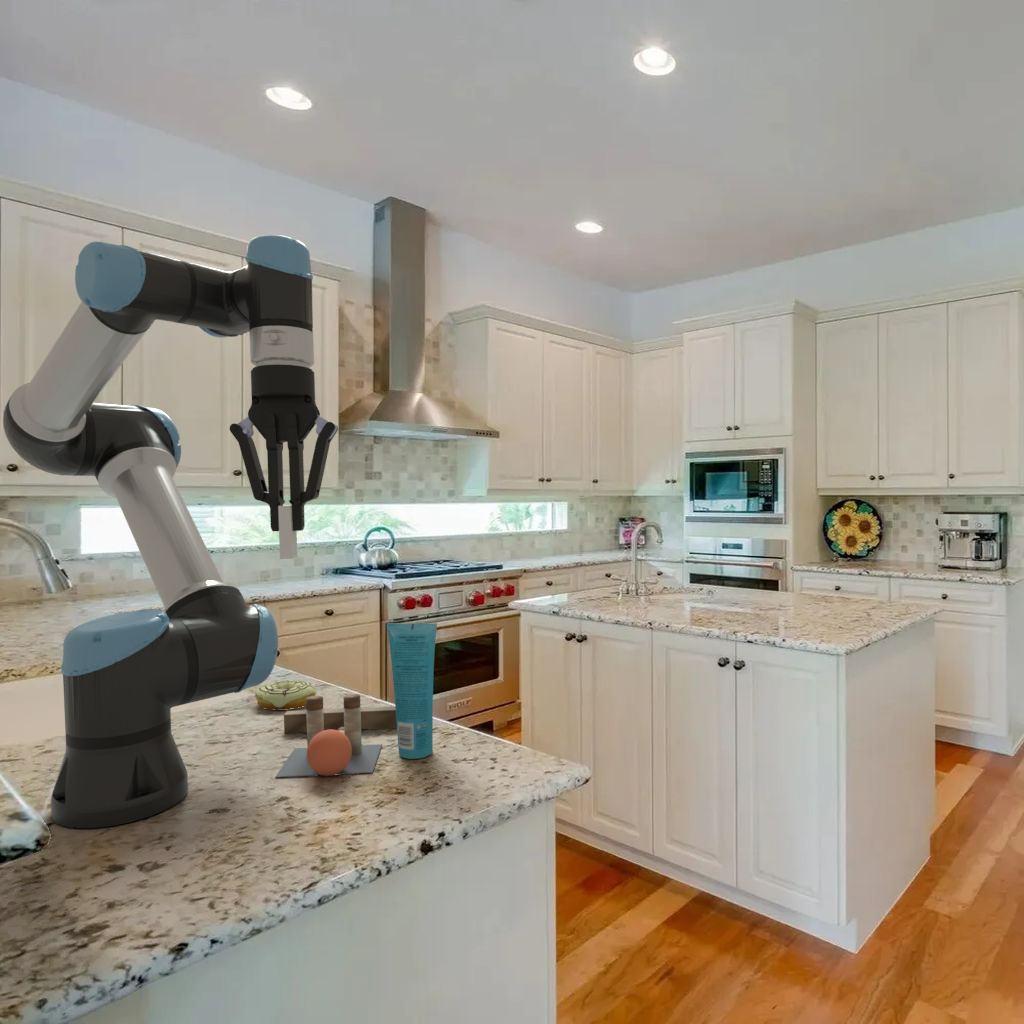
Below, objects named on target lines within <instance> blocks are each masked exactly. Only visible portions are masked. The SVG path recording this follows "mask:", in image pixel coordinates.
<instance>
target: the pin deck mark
mask: <svg viewBox="0 0 1024 1024" xmlns="http://www.w3.org/2000/svg"><path fill="white" fill-rule="evenodd" d="M382 745H383V744H382V743H381V744H380V743H379V744H362V752H361V753H360V754H358V755H351V759H350V761H349V763H348V765H347V766H346V767H345V768H344V769H343V770H342V771H341V772H339V773H337V774H349V775H360V774H359V773H370V774H373V773H374V771H373V770H375V768H374V767H376V765H375V764H377V761H378V758H379V755H380V753H381V749H382ZM355 773H356V774H355ZM316 775H317V776H316ZM318 775H320V774H318V773H316V772H315V771H314V770H313V769H312V768H311V767H310V766H309V764H308V761H307V747H295V748H294V749H293V750H292V752H291V753H290V755H289V756H288V757H287V759H286V760H285V762H284V763H283V764H282V766H281V768H280V769H279V771H278V772H277V774H276V775H275V777H288V778H296V777H295V776H308V777H319V776H318Z"/></svg>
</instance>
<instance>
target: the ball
mask: <svg viewBox="0 0 1024 1024" xmlns="http://www.w3.org/2000/svg"><path fill="white" fill-rule="evenodd" d="M306 748H307V747H306ZM351 755H352V747H351V743H350V741H349V739H348V737H347V736H346V735H345V734H343V733H342V732H340V731H338V730H333V729H329V730H324V731H322V732H320V733H318V734H317V735H315V736H314V737H313V738H312V740H311V741H310V743H309V745H308V748H307V761H308V764H309V766H310V767H311V768H312V769H313V770H314V771H315V772H316V773H318V774H320V775H324V776H323V777H330V776H336V775H335V774H337V773H339V772H341V771H342V770H343V769H344V768H345V767H346V766H347V765H348V763H349V761H350V759H351Z"/></svg>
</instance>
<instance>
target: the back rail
mask: <svg viewBox="0 0 1024 1024" xmlns="http://www.w3.org/2000/svg"><path fill="white" fill-rule="evenodd" d="M360 708H361V731H364V730H365V729H368V730H383V729H384V730H385V729H386V730H387V729H391V730H392V729H397V721H396V708H395V706H377V707H374V706H372V707H360ZM323 715H324V730H329V729H333V730H338V729H339V728H340V727H344V708H331V709H330V708H329V709H326V708H325V709H323ZM283 728H284V729H283V732H284V733H283V734H297V733H300V732H301V733H307V715H306V709H305V710H303V709H302V710H286V711H285V713H284V714H283ZM362 729H364V730H362Z"/></svg>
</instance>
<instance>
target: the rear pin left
mask: <svg viewBox="0 0 1024 1024" xmlns="http://www.w3.org/2000/svg"><path fill="white" fill-rule="evenodd" d="M342 700H343V709H344V733H345V735H346V736H347V737H348V739H349V741H350V743H351V747H352V755H358V754H360V753H361V752H362V745H363V744H362V730H361V708H362V707H361V695H360V694H357V693H356V694H355V693H354V694H351V693H350V694H346V695H343V699H342Z"/></svg>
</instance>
